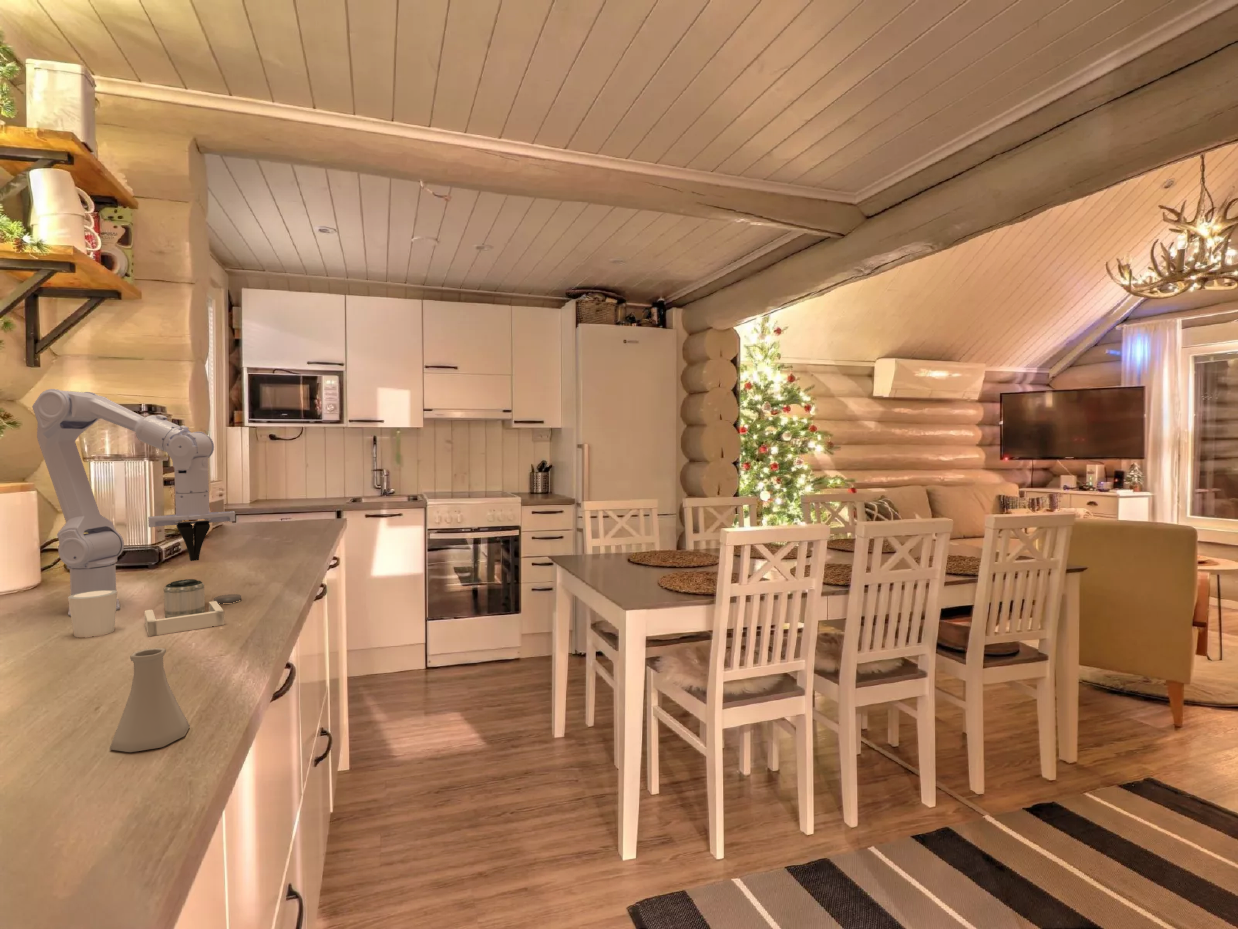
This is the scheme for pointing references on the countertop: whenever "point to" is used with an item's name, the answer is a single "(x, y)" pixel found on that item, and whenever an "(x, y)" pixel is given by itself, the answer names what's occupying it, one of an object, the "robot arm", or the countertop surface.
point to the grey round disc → (227, 598)
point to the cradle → (184, 621)
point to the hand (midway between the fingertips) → (194, 560)
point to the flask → (149, 707)
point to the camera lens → (184, 598)
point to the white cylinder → (93, 612)
